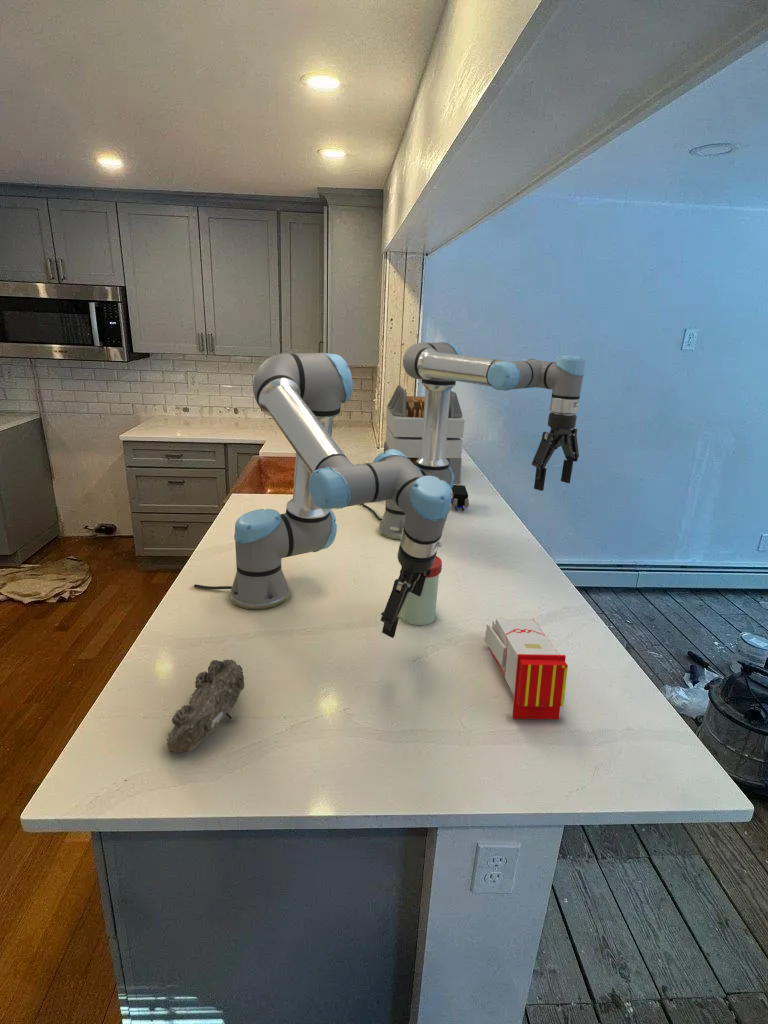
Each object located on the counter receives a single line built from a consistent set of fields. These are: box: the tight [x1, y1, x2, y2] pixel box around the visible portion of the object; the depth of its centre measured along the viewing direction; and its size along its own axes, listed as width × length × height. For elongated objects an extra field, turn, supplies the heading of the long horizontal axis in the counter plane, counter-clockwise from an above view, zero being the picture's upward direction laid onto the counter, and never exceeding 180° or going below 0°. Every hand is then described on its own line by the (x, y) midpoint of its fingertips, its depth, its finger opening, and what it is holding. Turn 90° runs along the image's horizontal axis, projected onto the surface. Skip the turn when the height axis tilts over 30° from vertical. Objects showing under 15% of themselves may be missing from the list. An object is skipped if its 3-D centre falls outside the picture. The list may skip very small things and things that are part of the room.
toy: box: [484, 617, 569, 720], centre depth 122 cm, size 12×13×30 cm
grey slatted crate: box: [383, 384, 465, 484], centre depth 268 cm, size 34×33×41 cm
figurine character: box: [450, 484, 470, 512], centre depth 229 cm, size 7×8×15 cm
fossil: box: [166, 658, 245, 754], centre depth 106 cm, size 22×10×15 cm
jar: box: [400, 574, 440, 626], centre depth 144 cm, size 9×9×16 cm
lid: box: [400, 555, 443, 578], centre depth 142 cm, size 10×10×2 cm
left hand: (402, 613), depth 126 cm, fingers open, 13 cm apart
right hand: (552, 485), depth 166 cm, fingers open, 13 cm apart
